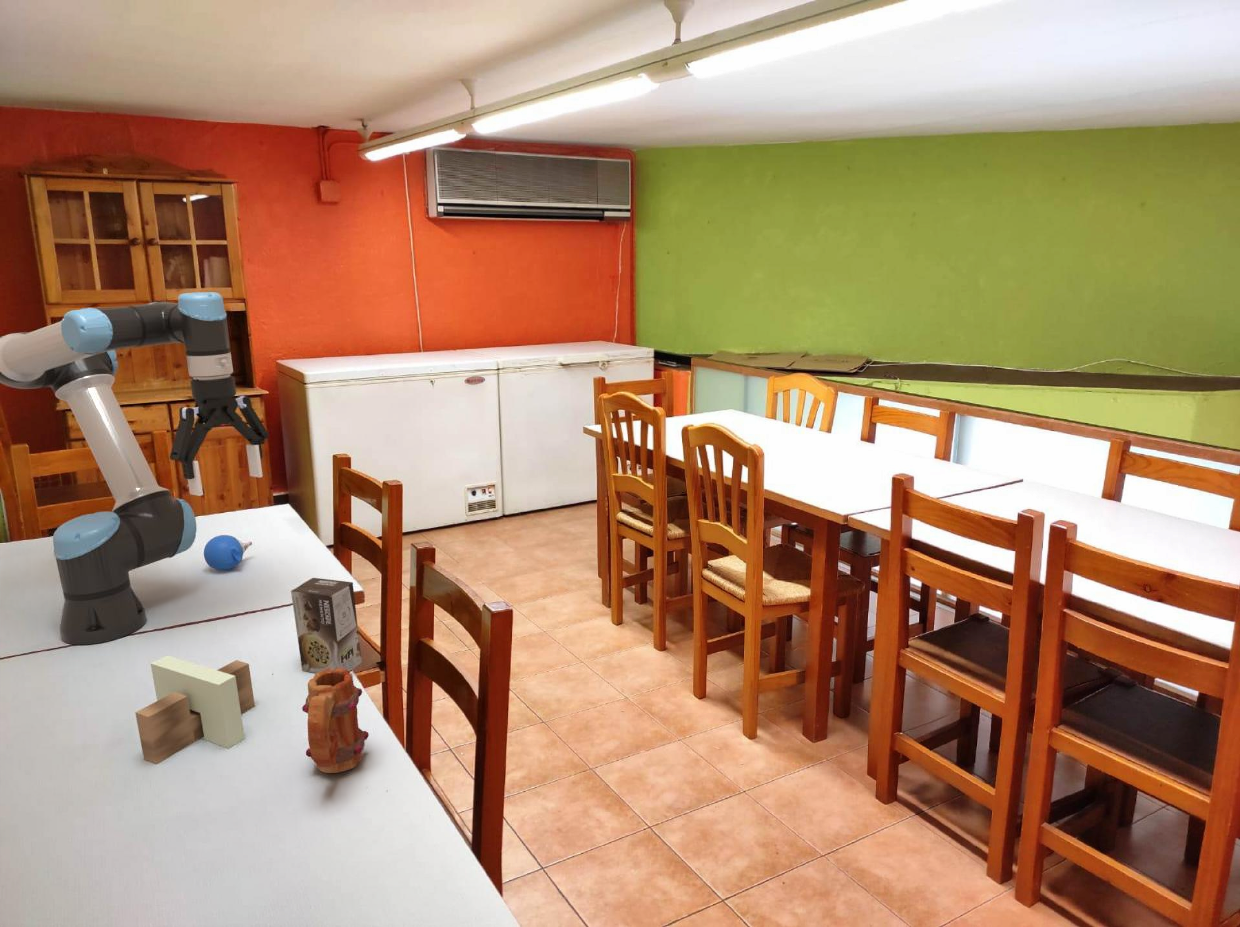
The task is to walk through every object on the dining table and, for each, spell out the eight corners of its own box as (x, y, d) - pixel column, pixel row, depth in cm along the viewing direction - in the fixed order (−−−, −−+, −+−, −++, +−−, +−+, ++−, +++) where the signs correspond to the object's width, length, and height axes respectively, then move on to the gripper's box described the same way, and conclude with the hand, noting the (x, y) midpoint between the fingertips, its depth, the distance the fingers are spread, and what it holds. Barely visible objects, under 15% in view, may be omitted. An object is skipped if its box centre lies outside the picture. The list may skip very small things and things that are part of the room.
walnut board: (156, 763, 127) (148, 716, 125) (143, 758, 129) (135, 712, 126) (254, 706, 143) (248, 663, 141) (242, 702, 144) (236, 659, 142)
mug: (320, 746, 131) (309, 659, 127) (373, 743, 131) (364, 656, 128) (293, 807, 117) (280, 711, 113) (353, 803, 117) (342, 707, 114)
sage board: (161, 724, 138) (150, 663, 135) (177, 715, 140) (167, 655, 138) (228, 748, 131) (218, 684, 128) (244, 738, 133) (235, 675, 131)
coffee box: (363, 661, 157) (354, 581, 153) (341, 678, 151) (332, 595, 147) (322, 655, 160) (313, 576, 156) (299, 671, 154) (289, 589, 150)
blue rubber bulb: (269, 563, 207) (264, 531, 205) (224, 579, 198) (219, 545, 195) (239, 554, 213) (235, 523, 211) (195, 570, 204) (190, 537, 202)
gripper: (163, 388, 145) (182, 505, 151) (279, 368, 167) (292, 471, 172) (136, 385, 149) (155, 500, 154) (253, 366, 170) (266, 467, 176)
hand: (227, 485), depth 163 cm, fingers open, 13 cm apart
